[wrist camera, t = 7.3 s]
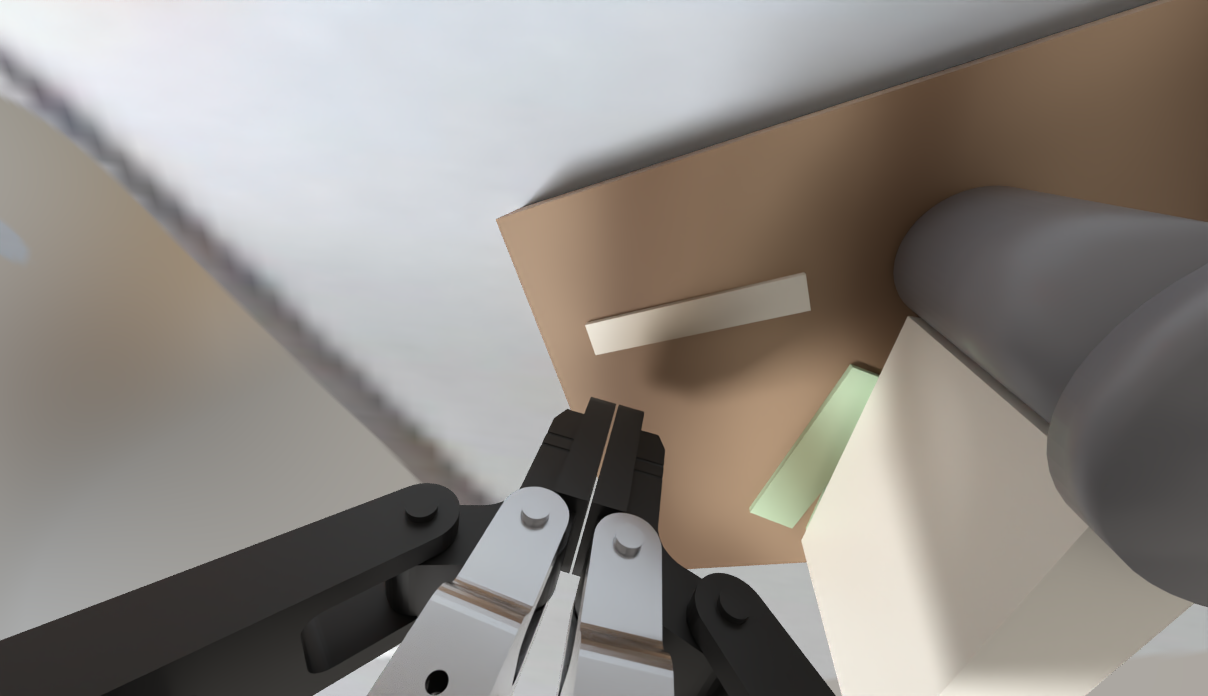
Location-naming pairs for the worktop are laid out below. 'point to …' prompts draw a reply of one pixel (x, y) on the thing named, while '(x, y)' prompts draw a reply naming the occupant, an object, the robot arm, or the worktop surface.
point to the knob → (1023, 454)
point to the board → (831, 256)
